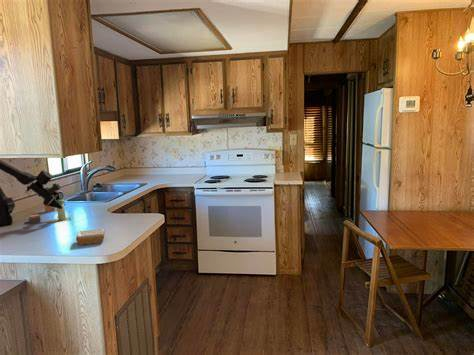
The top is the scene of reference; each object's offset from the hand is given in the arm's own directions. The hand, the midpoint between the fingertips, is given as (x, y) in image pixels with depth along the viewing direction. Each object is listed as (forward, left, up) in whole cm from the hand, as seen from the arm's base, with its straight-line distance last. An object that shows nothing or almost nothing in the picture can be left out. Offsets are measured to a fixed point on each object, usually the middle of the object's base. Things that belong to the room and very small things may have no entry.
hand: (63, 206), depth 213 cm
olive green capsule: (-1, 0, -8) cm, 8 cm away
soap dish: (+10, -55, -9) cm, 56 cm away
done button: (-16, +5, -6) cm, 18 cm away
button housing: (-16, +5, -9) cm, 19 cm away
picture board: (-2, +4, -9) cm, 10 cm away
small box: (-6, +34, -9) cm, 36 cm away
